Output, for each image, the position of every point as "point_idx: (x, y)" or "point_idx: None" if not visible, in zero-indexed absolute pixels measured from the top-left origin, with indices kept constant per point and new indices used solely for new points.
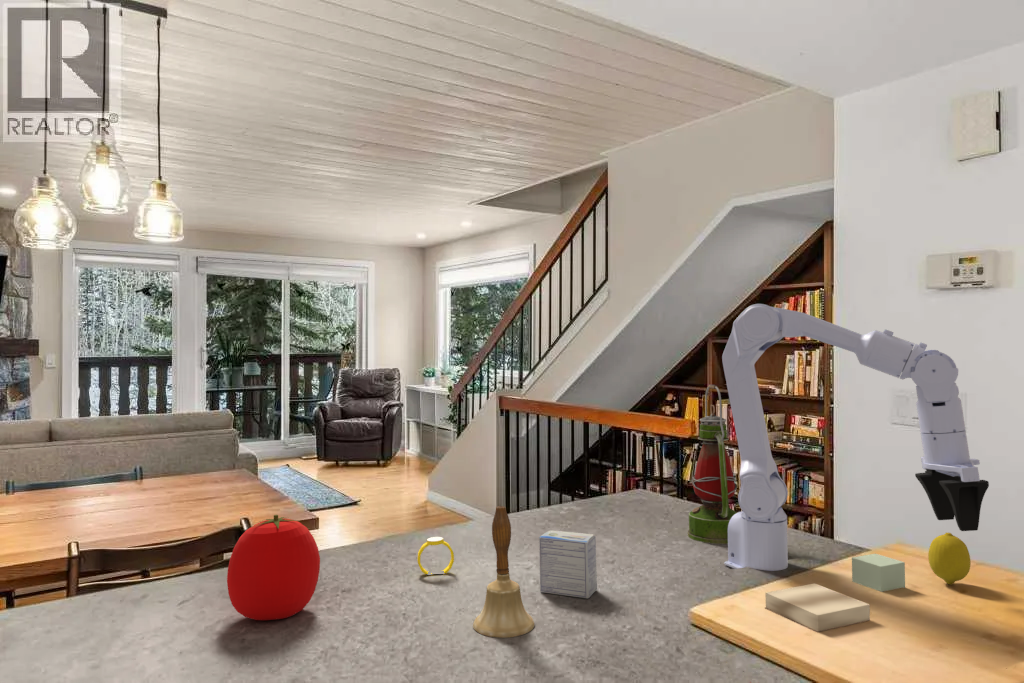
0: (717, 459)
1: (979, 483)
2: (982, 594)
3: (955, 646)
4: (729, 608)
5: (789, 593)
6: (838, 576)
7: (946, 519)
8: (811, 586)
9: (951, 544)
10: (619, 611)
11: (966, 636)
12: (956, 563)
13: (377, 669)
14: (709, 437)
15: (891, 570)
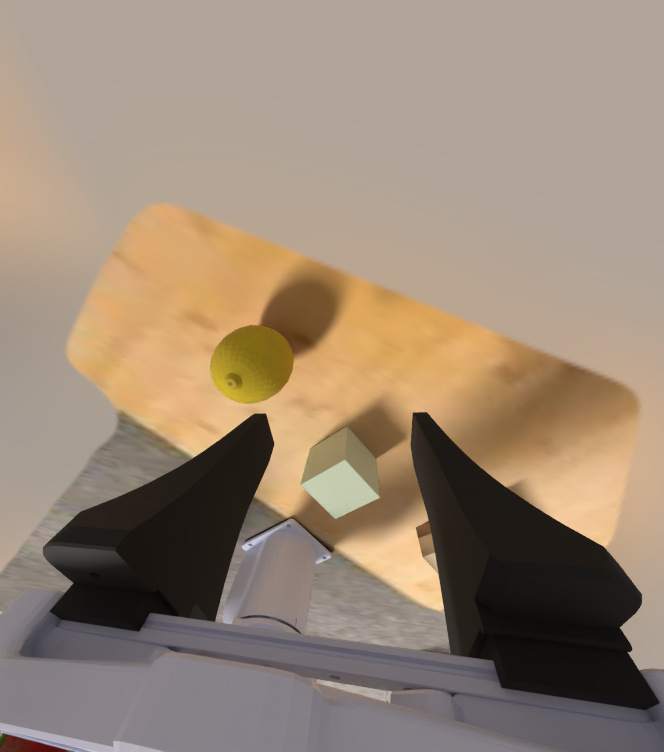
0: (60, 749)
1: (620, 616)
2: (312, 313)
3: (544, 427)
4: (429, 588)
5: None
6: (283, 480)
7: (269, 429)
8: (436, 562)
9: (269, 380)
10: (447, 648)
11: (509, 403)
12: (290, 362)
13: None
14: None
15: (365, 474)
